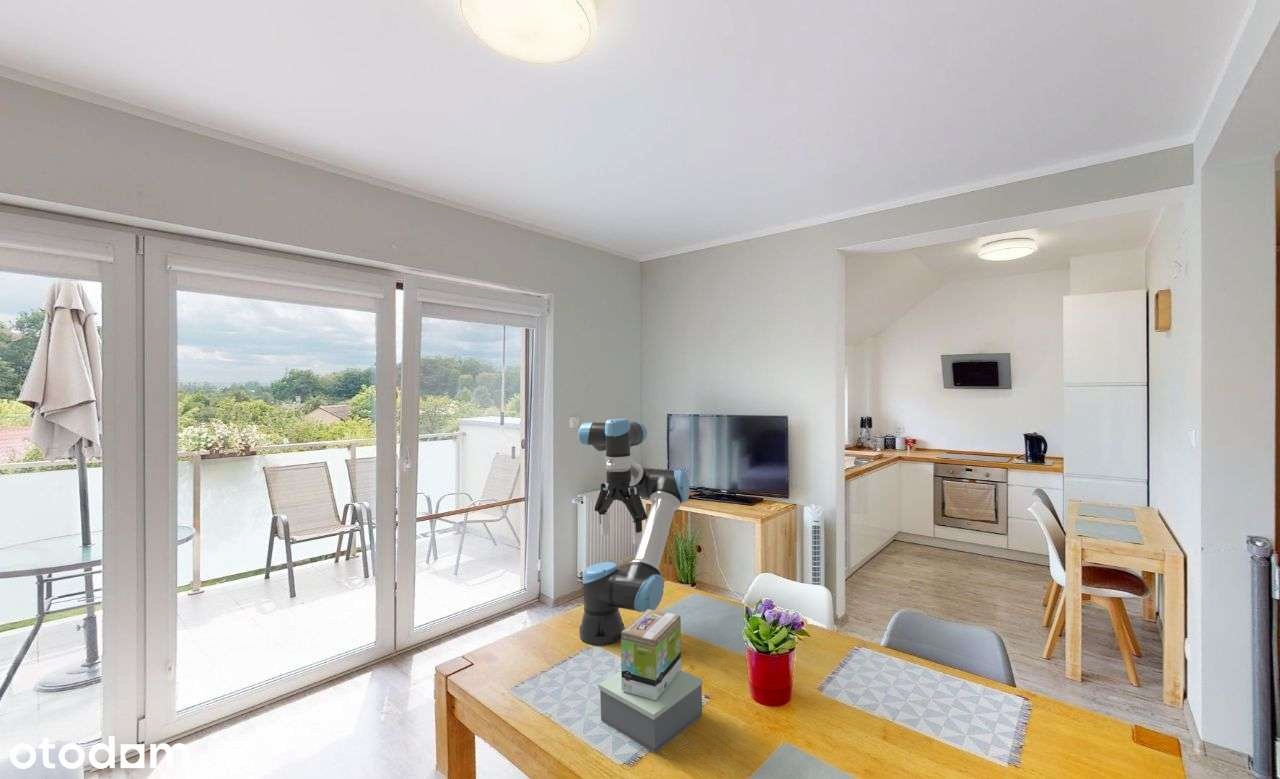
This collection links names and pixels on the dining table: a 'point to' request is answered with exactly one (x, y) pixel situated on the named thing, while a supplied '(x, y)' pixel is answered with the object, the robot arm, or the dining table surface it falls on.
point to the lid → (650, 707)
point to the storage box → (647, 729)
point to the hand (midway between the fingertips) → (620, 538)
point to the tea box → (650, 653)
